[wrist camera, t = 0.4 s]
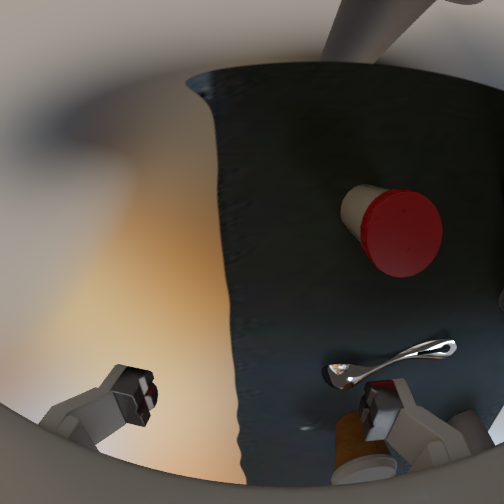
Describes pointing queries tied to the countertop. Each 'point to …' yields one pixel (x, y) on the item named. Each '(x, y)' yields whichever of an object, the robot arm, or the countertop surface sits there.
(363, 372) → the metal scoop
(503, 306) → the beverage cup
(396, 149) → the countertop surface
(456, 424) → the pillar candle
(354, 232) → the jam jar
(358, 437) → the disposable coffee cup
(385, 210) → the jam lid
